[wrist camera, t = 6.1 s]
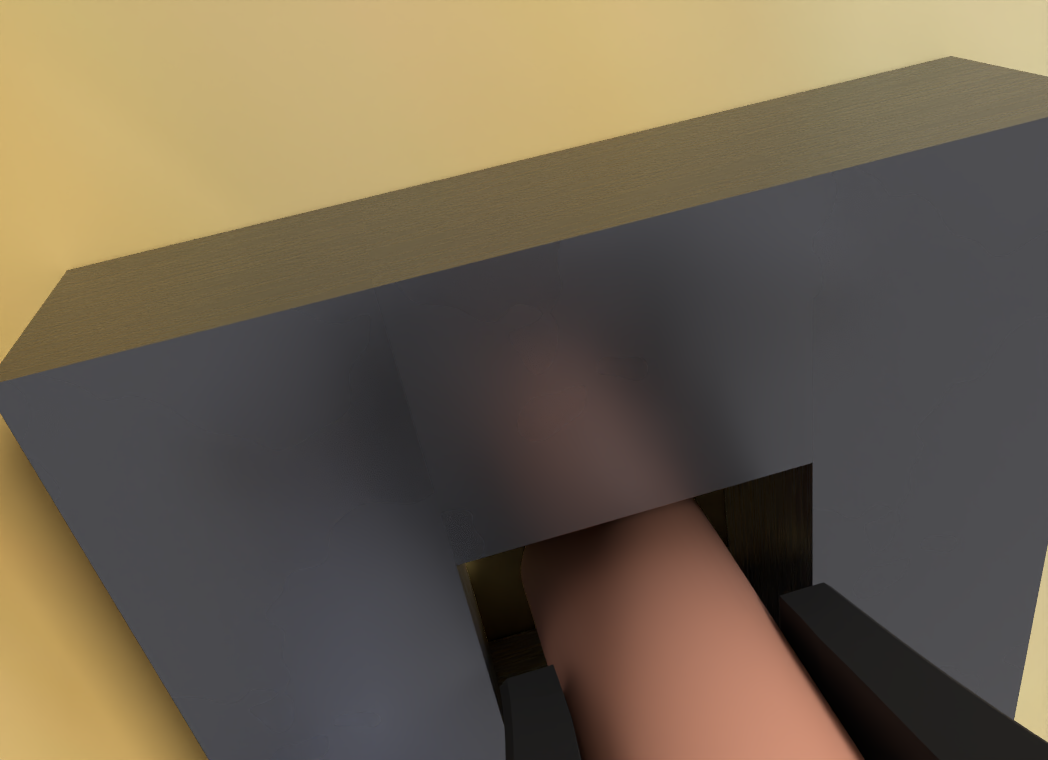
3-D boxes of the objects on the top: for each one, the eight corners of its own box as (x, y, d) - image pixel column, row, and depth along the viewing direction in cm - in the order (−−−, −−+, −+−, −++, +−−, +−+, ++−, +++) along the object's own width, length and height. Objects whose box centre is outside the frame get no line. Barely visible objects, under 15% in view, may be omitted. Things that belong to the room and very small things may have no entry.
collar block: (903, 648, 18) (1003, 773, 15) (343, 825, 16) (348, 992, 14) (951, 55, 11) (1134, 95, 9) (66, 270, 10) (-17, 386, 8)
